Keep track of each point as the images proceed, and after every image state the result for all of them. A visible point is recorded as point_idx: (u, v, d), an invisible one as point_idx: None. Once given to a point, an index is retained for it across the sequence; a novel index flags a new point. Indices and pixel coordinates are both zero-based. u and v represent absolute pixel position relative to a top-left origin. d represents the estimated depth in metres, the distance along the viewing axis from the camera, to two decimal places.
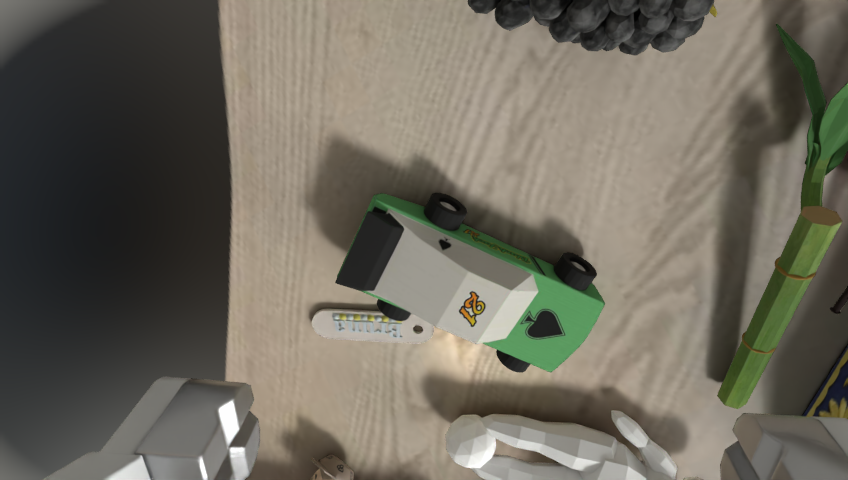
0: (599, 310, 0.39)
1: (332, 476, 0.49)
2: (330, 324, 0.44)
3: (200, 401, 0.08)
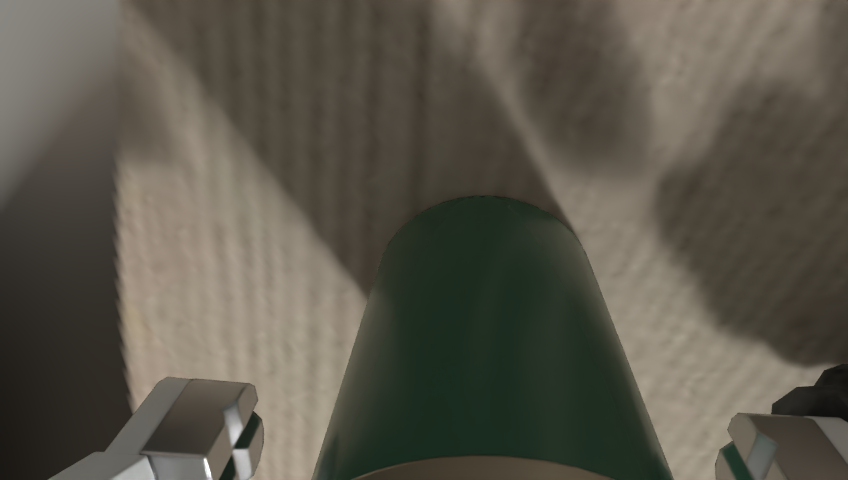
0: None
1: None
2: None
3: (204, 401, 0.08)
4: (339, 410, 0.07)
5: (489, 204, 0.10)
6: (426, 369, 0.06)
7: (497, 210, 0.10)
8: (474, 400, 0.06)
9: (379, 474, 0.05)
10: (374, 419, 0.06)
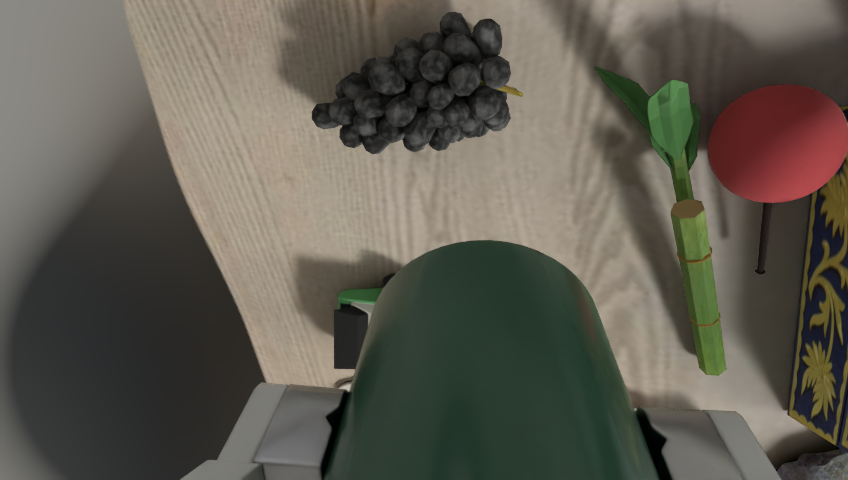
0: None
1: None
2: None
3: (307, 408, 0.08)
4: None
5: (489, 251, 0.09)
6: (420, 466, 0.06)
7: (498, 259, 0.09)
8: None
9: None
10: None
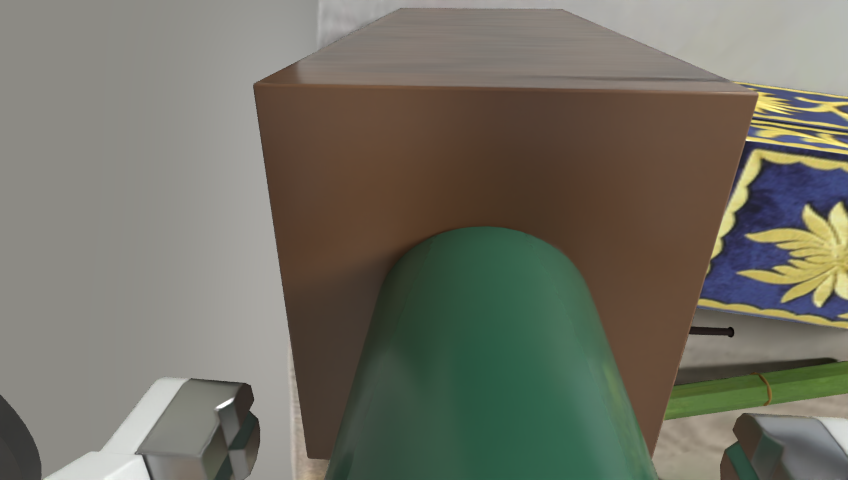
0: None
1: None
2: None
3: (200, 401, 0.08)
4: (338, 457, 0.07)
5: (489, 236, 0.10)
6: (425, 419, 0.06)
7: (497, 243, 0.10)
8: (475, 456, 0.05)
9: None
10: (374, 472, 0.06)
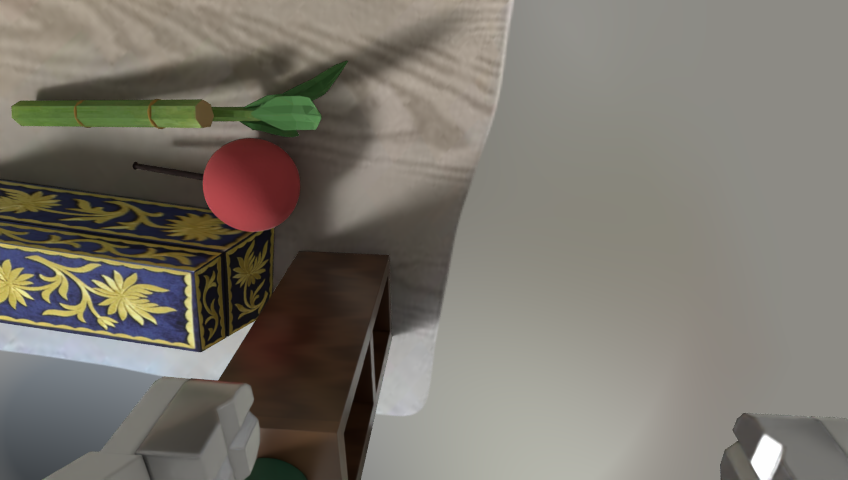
0: None
1: None
2: None
3: (200, 401, 0.08)
4: None
5: None
6: None
7: None
8: None
9: None
10: None
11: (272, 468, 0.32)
